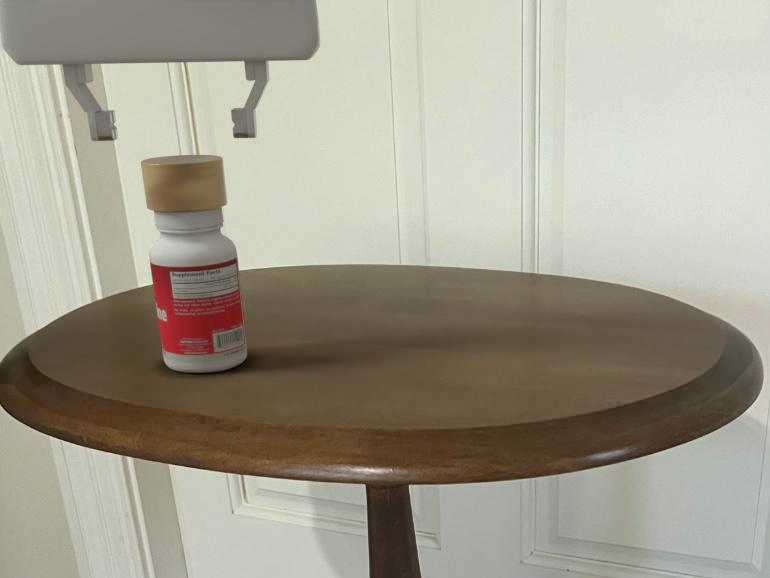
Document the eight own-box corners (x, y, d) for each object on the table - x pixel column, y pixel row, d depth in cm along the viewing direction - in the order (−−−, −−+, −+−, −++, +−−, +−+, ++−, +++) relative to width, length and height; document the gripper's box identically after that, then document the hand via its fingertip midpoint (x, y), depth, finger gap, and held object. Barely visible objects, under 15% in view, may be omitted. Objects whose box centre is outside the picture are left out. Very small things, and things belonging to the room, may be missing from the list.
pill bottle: (173, 352, 83) (153, 200, 78) (253, 350, 83) (238, 198, 78) (156, 376, 78) (132, 214, 72) (241, 374, 77) (224, 211, 72)
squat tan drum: (140, 213, 72) (133, 165, 71) (154, 201, 77) (148, 156, 76) (222, 210, 73) (217, 162, 71) (231, 198, 77) (227, 153, 76)
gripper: (-40, -108, 63) (6, 146, 70) (310, -113, 64) (323, 140, 71) (-8, -98, 69) (32, 137, 76) (314, -102, 70) (326, 131, 76)
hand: (175, 139), depth 73 cm, fingers open, 8 cm apart
